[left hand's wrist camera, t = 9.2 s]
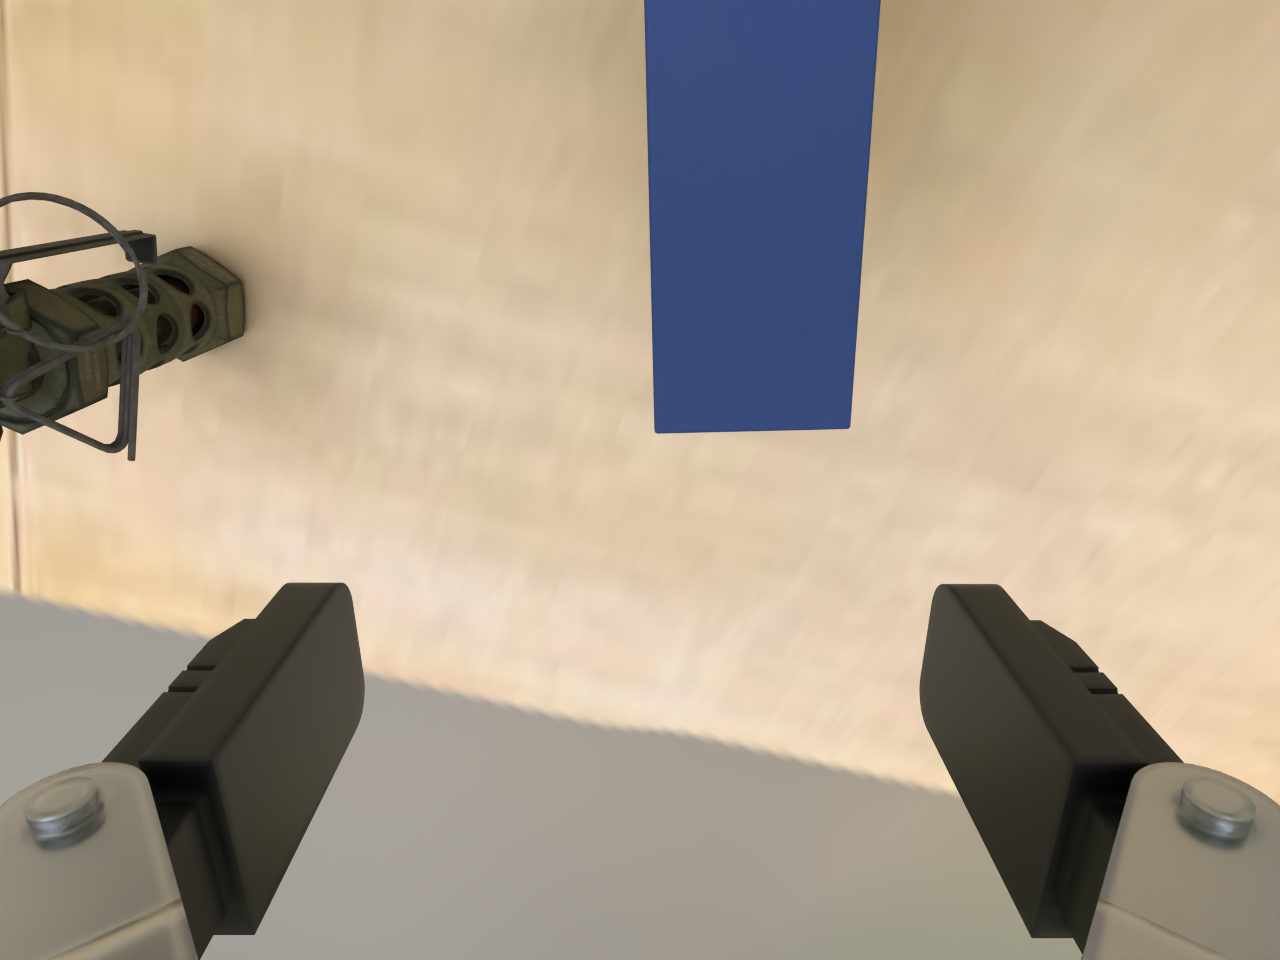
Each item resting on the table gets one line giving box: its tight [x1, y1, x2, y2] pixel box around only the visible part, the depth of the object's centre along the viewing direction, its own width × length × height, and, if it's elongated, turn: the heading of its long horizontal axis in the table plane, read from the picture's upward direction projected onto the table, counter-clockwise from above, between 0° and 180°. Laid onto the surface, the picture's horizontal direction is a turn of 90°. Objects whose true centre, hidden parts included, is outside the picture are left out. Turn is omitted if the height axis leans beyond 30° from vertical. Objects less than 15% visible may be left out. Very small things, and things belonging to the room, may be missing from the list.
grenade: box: [0, 192, 244, 461], centre depth 31 cm, size 9×6×15 cm, turn 172°
